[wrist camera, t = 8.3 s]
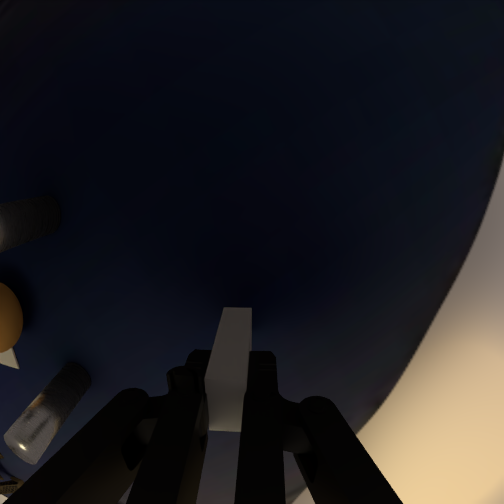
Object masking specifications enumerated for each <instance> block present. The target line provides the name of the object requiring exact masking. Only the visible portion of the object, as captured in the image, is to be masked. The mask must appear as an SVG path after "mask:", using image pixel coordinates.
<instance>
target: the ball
mask: <svg viewBox="0 0 504 504" xmlns="http://www.w3.org/2000/svg"><path fill="white" fill-rule="evenodd" d="M22 327H23V313H22V308H21V305H20V303H19V301H18V299H17V297H16V295H15V294H14V293H13V291H12V290H11V289H10V288H8V287H7V286H6V285H4V284H3V283H1V282H0V353H3V352H5V351H7V350H9V349H10V348H12V347H13V346H14V345H15V343H16V342H17V341H18V339H19V337H20V335H21V331H22Z"/></svg>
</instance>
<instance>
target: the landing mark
mask: <svg viewBox="0 0 504 504" xmlns="http://www.w3.org/2000/svg"><path fill="white" fill-rule="evenodd" d="M0 363H1V364H4V365H7V366H10V367H14V368H17V369H19V368H20V367H19V364H18V361H17V358H16V355H15V352H14V349H13V347H12V348H10V349H9V350H7V351H5V352H3V353H0Z"/></svg>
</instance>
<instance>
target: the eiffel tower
mask: <svg viewBox="0 0 504 504" xmlns="http://www.w3.org/2000/svg"><path fill="white" fill-rule="evenodd" d="M1 458H4V457H3V456H2V455H1V453H0V459H1ZM0 479H2V480H4V479H3V478H2V477H1V476H0ZM11 479H12V480H11V481H5V482H0V494H9V493H14V492H15V491H16V490H17V489H18V488H20V487H21V486H22V485H23V484H24V482H23V480H20V479H18V478H15V477H13V476H12V477H11Z"/></svg>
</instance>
